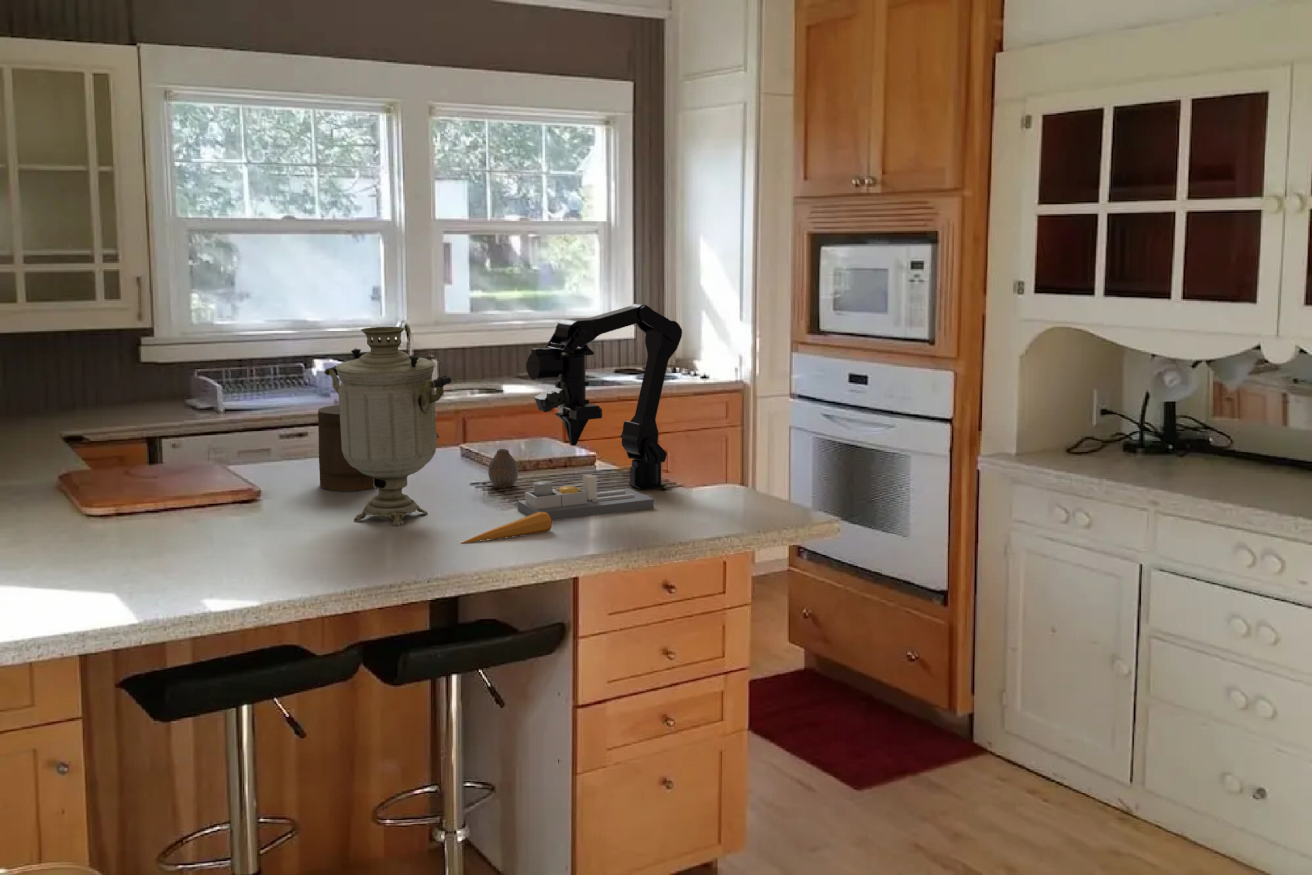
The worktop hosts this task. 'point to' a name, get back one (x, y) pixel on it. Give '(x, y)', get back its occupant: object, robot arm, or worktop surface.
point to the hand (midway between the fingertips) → (573, 445)
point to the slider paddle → (590, 486)
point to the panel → (584, 503)
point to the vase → (503, 469)
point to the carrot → (518, 527)
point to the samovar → (387, 418)
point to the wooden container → (336, 456)
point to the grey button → (542, 488)
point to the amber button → (568, 489)
